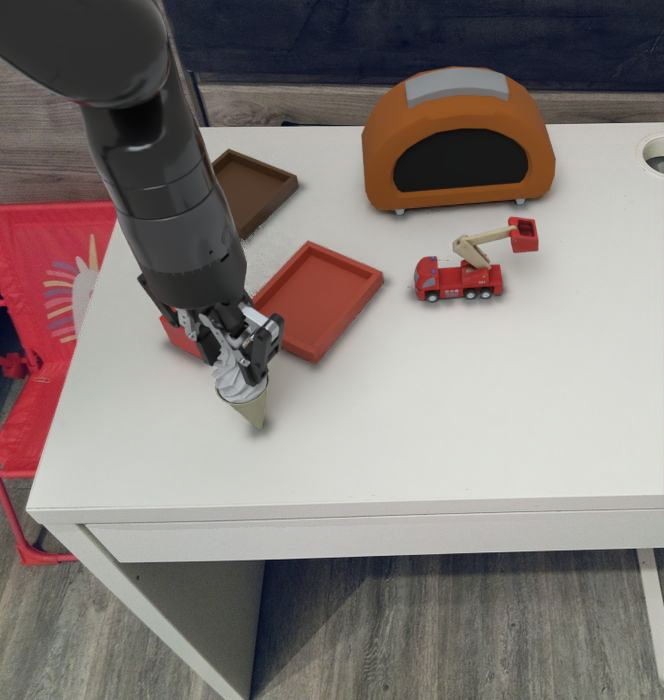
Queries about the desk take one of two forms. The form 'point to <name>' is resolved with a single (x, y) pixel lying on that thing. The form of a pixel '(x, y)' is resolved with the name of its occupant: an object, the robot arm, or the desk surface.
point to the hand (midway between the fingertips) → (236, 368)
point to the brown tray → (252, 189)
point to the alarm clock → (455, 142)
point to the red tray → (317, 298)
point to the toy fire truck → (473, 264)
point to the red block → (180, 337)
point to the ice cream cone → (239, 389)
